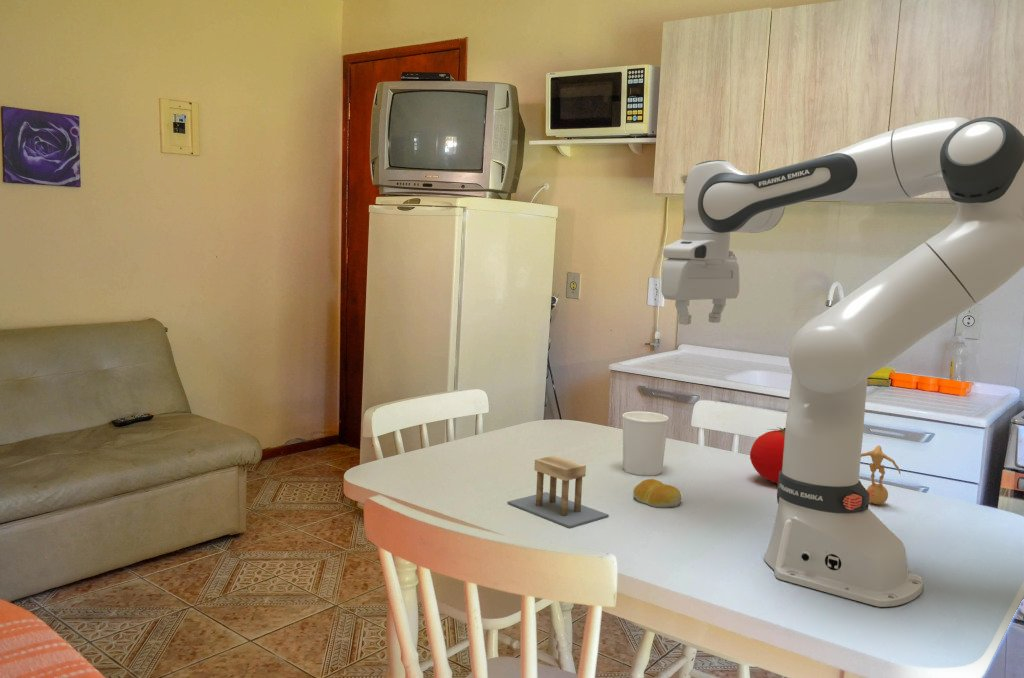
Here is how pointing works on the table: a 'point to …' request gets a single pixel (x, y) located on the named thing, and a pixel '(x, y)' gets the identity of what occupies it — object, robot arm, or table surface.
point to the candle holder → (644, 442)
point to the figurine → (880, 490)
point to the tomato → (769, 454)
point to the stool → (564, 472)
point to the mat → (558, 511)
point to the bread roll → (657, 494)
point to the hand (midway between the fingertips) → (699, 323)
